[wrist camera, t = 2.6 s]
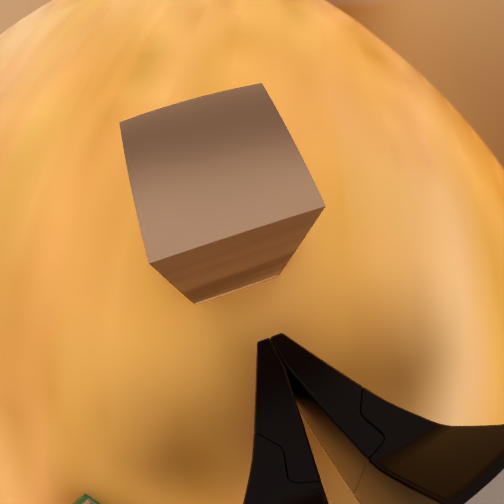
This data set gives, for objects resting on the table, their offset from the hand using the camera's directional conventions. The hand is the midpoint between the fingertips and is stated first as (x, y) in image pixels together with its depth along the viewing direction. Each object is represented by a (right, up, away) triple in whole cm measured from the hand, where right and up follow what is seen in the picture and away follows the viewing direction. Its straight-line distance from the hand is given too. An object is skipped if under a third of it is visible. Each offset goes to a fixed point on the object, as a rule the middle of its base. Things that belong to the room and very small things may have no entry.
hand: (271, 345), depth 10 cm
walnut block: (-2, +3, +9) cm, 10 cm away
